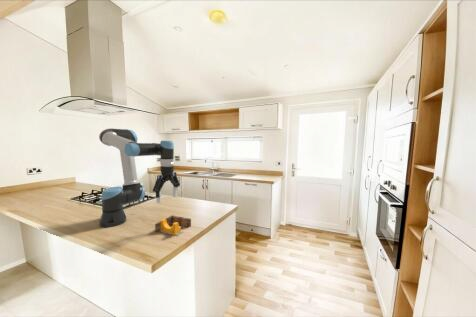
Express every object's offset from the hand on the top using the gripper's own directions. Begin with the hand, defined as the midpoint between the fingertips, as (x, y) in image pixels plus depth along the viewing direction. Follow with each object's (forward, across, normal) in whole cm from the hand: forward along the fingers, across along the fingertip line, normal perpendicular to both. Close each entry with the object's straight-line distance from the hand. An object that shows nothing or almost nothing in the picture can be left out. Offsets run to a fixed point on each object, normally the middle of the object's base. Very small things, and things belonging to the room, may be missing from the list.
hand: (167, 199), depth 116 cm
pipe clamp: (+18, -3, -5) cm, 19 cm away
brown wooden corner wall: (+19, +1, -4) cm, 19 cm away
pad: (+18, -3, -6) cm, 20 cm away
